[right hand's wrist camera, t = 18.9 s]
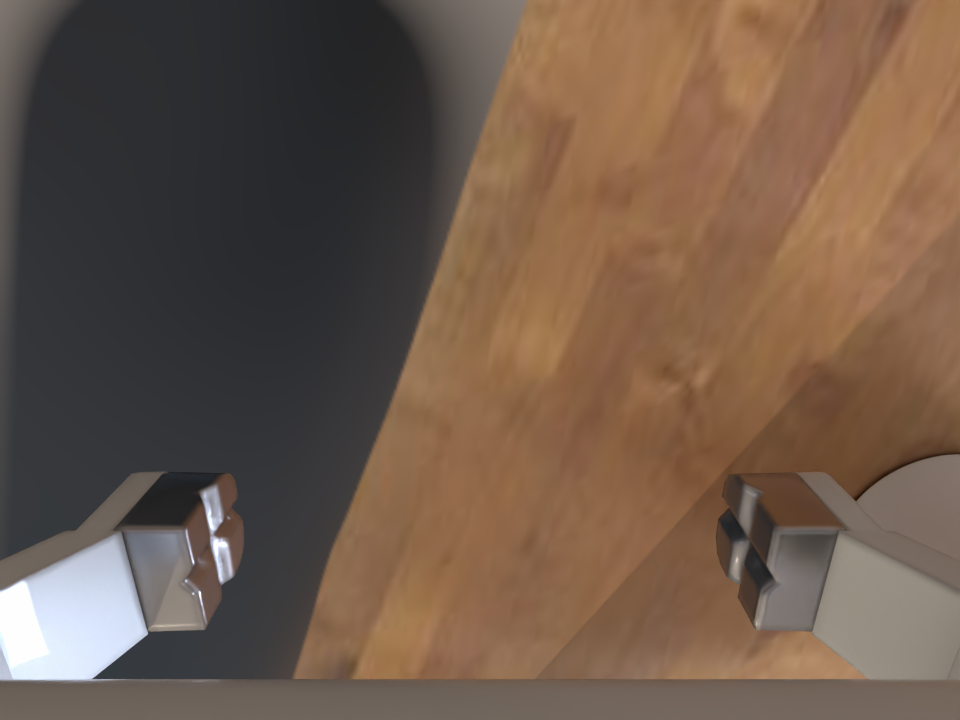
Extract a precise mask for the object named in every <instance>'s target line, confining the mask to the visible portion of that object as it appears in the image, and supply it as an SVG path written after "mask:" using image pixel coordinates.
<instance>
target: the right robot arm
mask: <svg viewBox="0 0 960 720" xmlns="http://www.w3.org/2000/svg"><path fill="white" fill-rule="evenodd" d="M237 497H238V495H237V490H236V485H235V481H234V478H233V477H232V476H231V475H230V474H229V473H193V472H169V473H167V472H138V473H133V474H131V475H130V476H129V477H128V478H127V479H126V480H125V481H124V482H123V483H122V484H121V485H120V486H119V487H118V488H117V489H116V490H115V491H114V492H113V493H112V494H111V495H110V496H109V497H108V498H107V499H106V500H105V502H104V503H102V504H101V506H100V507H99V508H98V509H97V510H96V511H95V512H94V513H93V514H92V515H91V516H90V517H89V518H88V519H87V520H86V521H85V522H84V523H83V524H82V525H81V526H80V527H79V528H78V529H77V530H76V531H64V532H62V533H60V534H58V535H56V536H53V537H51V538H49V539H47V540H45V541H42V542H40V543H38V544H36V545H34V546H31V547H29V548H27V549H25V550H23V551H20V552H18V553H16V554H14V555H12V556H10V557H7V558H5V559H3V560H1V561H0V720H960V454H953V455H942V456H936V457H931V458H927V459H923V460H920V461H917V462H914V463H911V464H909V465H906V466H904V467H902V468H900V469H898V470H896V471H894V472H892V473H890V474H888V475H887V476H885V477H884V478H882V479H881V480H879V481H878V482H876V483H875V484H874V485H873V486H871V487H870V488H869V489H868V490H867V491H866V492H865V493H864V494H863V495H861V496H860V498H859V499H858V500H857V501H855V500H854V499H853V498H852V497H851V496H850V495H849V494H848V493H847V492H846V491H845V490H844V489H843V488H842V487H841V486H840V485H839V484H838V483H837V482H836V481H835V480H834V479H833V478H832V477H831V476H830V475H829V474H827V473H824V472H822V471H818V472H791V473H758V474H729V475H728V477H727V479H726V481H725V484H724V489H723V494H722V497H723V498H724V500H725V501H726V503H727V505H728V506H729V509H728V510H727V511H726V512H725V513H724V514H723V515H722V516H721V517H720V518H719V519H718V524H717V532H716V543H717V554H718V557H719V560H720V564H721V566H722V568H723V570H724V572H725V574H726V576H727V577H728V578H729V579H731V580H732V581H734V582H735V583H737V584H738V585H740V588H739V593H738V599H739V601H740V602H741V604H742V606H743V608H744V610H745V612H746V613H747V615H748V617H749V619H750V621H751V623H752V625H753V626H754V628H755V630H782V631H813V632H812V634H813V635H814V636H815V637H817V638H818V639H819V640H820V641H822V642H823V643H824V644H825V645H827V646H828V647H829V648H830V649H832V650H833V651H834V652H835V653H837V654H838V655H839V656H840V657H842V658H843V659H844V660H845V661H847V662H848V663H849V664H850V665H852V666H853V667H854V668H855V669H857V670H858V671H859V672H860V673H862V674H863V675H864V676H865V677H867V678H868V679H92V678H94V677H95V676H96V675H97V674H99V673H100V672H101V671H102V670H103V669H105V668H106V667H107V666H109V665H110V664H111V663H112V662H114V661H115V660H116V659H117V658H119V657H120V656H121V655H122V654H124V653H125V652H126V651H127V650H129V649H130V648H131V647H132V646H134V645H135V644H136V643H137V642H139V641H140V640H141V639H143V638H144V637H145V636H146V635H147V634H148V632H147V631H177V630H205V628H206V626H207V625H208V623H209V621H210V619H211V617H212V615H213V614H214V612H215V610H216V608H217V606H218V604H219V602H220V600H221V599H222V593H221V588H220V585H222V584H223V583H225V582H226V581H228V580H229V579H231V578H232V577H233V576H234V574H235V572H236V570H237V568H238V566H239V564H240V560H241V556H242V551H243V547H244V530H243V524H242V519H241V518H240V517H239V516H238V515H237V514H236V513H235V512H234V511H233V510H232V509H231V506H232V505H233V503H234V501H235V500H236V498H237Z"/></svg>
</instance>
